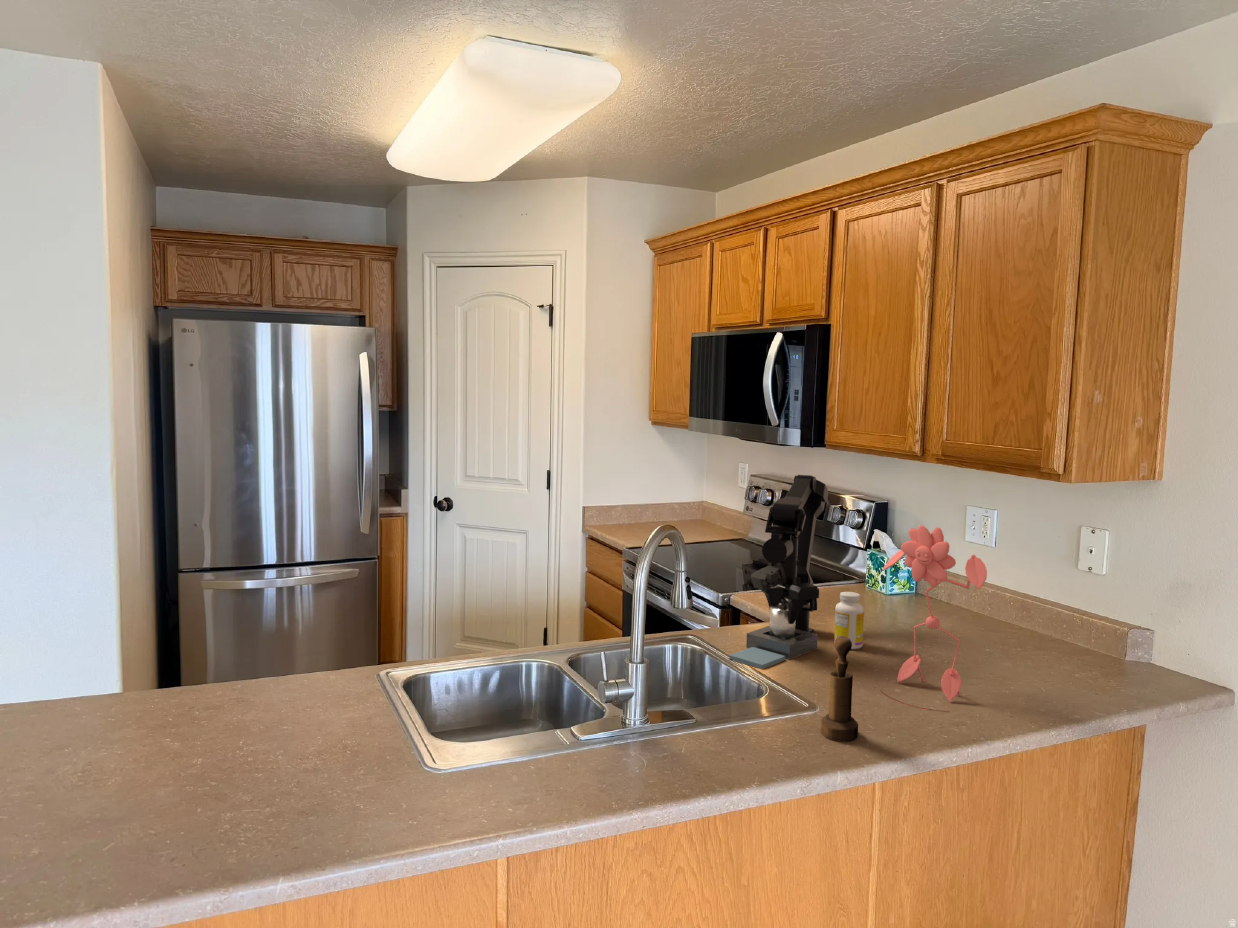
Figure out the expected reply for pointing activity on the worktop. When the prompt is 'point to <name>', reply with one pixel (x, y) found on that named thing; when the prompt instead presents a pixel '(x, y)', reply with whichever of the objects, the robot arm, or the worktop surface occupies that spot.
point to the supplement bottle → (849, 619)
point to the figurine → (930, 564)
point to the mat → (757, 657)
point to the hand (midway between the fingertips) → (782, 620)
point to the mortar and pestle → (840, 698)
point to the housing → (782, 642)
